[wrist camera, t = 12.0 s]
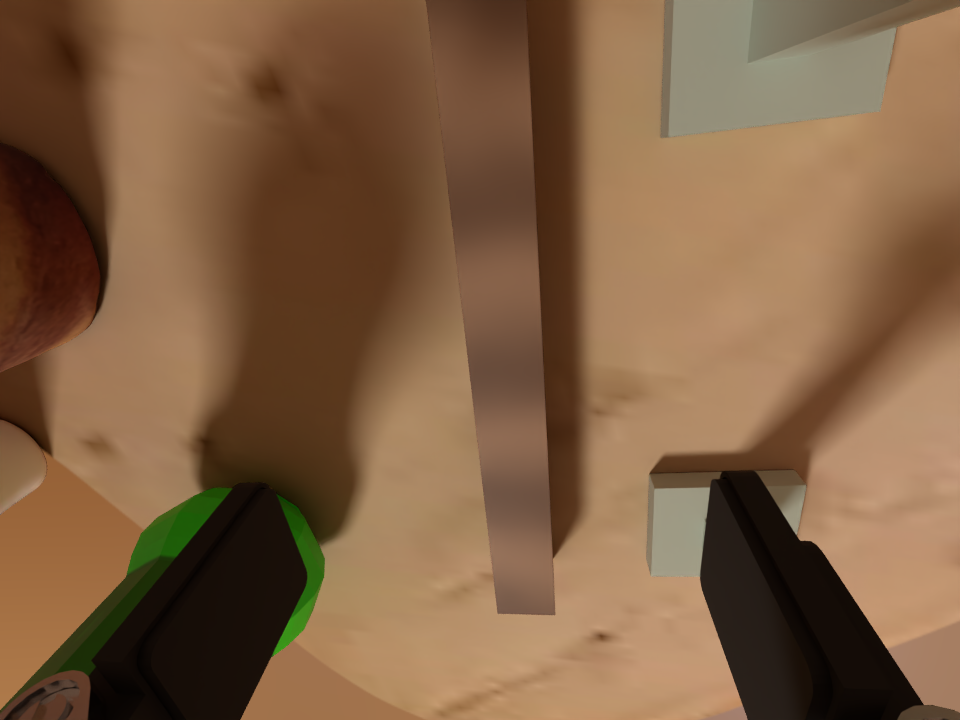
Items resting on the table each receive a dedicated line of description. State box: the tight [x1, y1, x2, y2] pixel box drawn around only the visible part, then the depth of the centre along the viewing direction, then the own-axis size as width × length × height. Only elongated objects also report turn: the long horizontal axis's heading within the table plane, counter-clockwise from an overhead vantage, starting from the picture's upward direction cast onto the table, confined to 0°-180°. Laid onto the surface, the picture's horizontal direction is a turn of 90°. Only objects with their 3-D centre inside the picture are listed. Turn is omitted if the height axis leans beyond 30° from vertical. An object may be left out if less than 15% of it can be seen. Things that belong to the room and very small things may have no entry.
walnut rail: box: [426, 0, 555, 615], centre depth 21 cm, size 28×3×4 cm, turn 6°
